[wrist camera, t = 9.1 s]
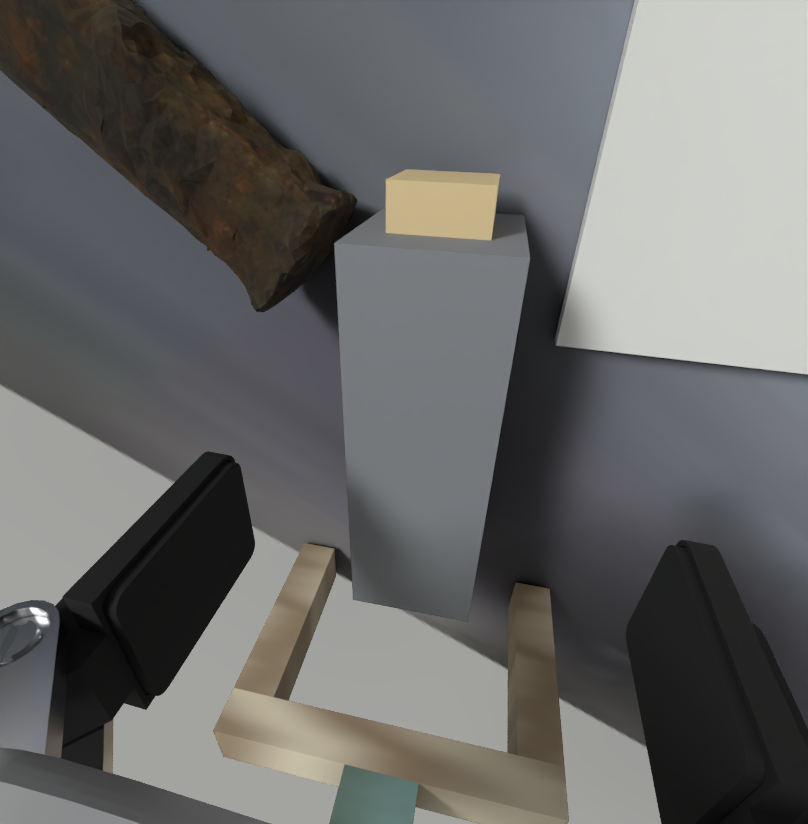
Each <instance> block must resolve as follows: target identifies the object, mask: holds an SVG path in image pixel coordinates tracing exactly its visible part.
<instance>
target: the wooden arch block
mask: <svg viewBox="0 0 808 824" xmlns="http://www.w3.org/2000/svg"><path fill="white" fill-rule="evenodd" d="M335 577H336V568H335V551H334V548H328V547H323V546H318V545H312V544H307V543H304V545H303V547H302V549H301V551H300V553H299V555H298V557H297V559H296V561H295V563H294V565H293V568H292V570H291V572H290V574H289V576H288V578H287V580H286V582H285V584H284V586H283V588H282V590H281V592H280V594H279V596H278V598H277V600H276V602H275V604H274V607H273V609H272V611H271V613H270V615H269V617H268V619H267V621H266V623H265V625H264V627H263V629H262V631H261V633H260V635H259V637H258V639H257V642H256V644H255V646H254V648H253V650H252V652H251V654H250V656H249V658H248V660H247V662H246V664H245V666H244V668H243V670H242V672H241V674H240V677H239V679H238V681H237V683H236V685H235V687H234V689H233V691H232V693H231V695H230V697H229V699H228V701H227V703H226V705H225V707H224V710H223V711H222V714H221V716H220V718H219V720H218V722H217V724H216V726H215V728H214V730H213V732H214V734H215V737H216V739H217V742H218V744H219V747H220V749H221V752H222V754H223V757H226V758H231V759H234V760H238V761H242V762H245V763H249V764H253V765H257V766H261V767H265V768H268V769H273V770H276V771H280V772H284V773H288V774H292V775H295V776H299V777H303V778H307V779H310V780H314V781H318V782H322V783H326V784H330V785H334V786H337V787H339V788H338V792H337V796H336V800H335V804H334V807H333V812H332V815H331V819H330V823H329V824H413V820H414V813H415V807H418V808H422V809H425V810H429V811H433V812H437V813H440V814H445V815H448V816H452V817H456V818H460V819H463V820H467V821H471V822H475V823H479V824H567V823H568V822H569V816H568V804H567V793H566V779H565V768H564V756H563V744H562V732H561V719H560V707H559V695H558V683H557V671H556V659H555V647H554V635H553V623H552V611H551V599H550V589H548V588H543V587H537V586H532V585H527V584H521V583H516V582H515V586H514V590H513V594H512V597H511V601H510V605H509V608H508V753H506V752H502V751H497V750H493V749H489V748H485V747H481V746H476V745H472V744H468V743H463V742H460V741H455V740H451V739H446V738H442V737H438V736H434V735H430V734H426V733H422V732H417V731H413V730H409V729H405V728H401V727H397V726H392V725H388V724H384V723H380V722H375V721H371V720H367V719H363V718H359V717H355V716H350V715H346V714H342V713H338V712H334V711H329V710H325V709H320V708H317V707H313V706H308V705H304V704H300V703H296V702H291V701H288V700H289V697H290V695H291V692H292V690H293V687H294V684H295V682H296V679H297V676H298V674H299V671H300V668H301V666H302V663H303V661H304V658H305V655H306V653H307V650H308V648H309V645H310V642H311V640H312V637H313V635H314V632H315V629H316V626H317V624H318V621H319V619H320V616H321V614H322V611H323V608H324V606H325V603H326V601H327V598H328V595H329V593H330V590H331V587H332V585H333V582H334V579H335Z"/></svg>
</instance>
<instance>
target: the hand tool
mask: <svg viewBox="0 0 808 824" xmlns="http://www.w3.org/2000/svg"><path fill="white" fill-rule="evenodd" d="M0 70H1V71H2V72H3V73H4V74H5V75H6V76H7V77H8V78H9V79H10V80H11V81H13V82H14V83H15V84H16V85H17V86H18V87H19V88H21V89H22V90H23V91H24V92H25V93H27V94H28V95H29V96H30V97H31V98H32V99H34V100H35V101H36V102H37V103H38V104H39V105H41V106H42V107H43V108H44V109H45V110H46V111H48V112H49V113H50V114H51V115H52V116H53V117H54V118H56V119H57V120H58V121H59V122H60V123H61V124H62V125H63V126H64V127H65V128H67V129H68V130H69V131H70V132H72V133H73V134H74V135H76V136H77V137H79V138H80V139H81V140H82V141H83V142H85V143H86V144H87V145H88V146H89V147H90V148H91V149H92V150H93V151H95V152H96V153H97V154H98V155H99V156H100V157H101V158H103V159H104V160H105V161H106V162H107V163H108V164H110V165H111V166H112V167H113V168H114V169H115V170H117V171H118V172H119V173H120V174H121V175H122V176H124V177H125V178H126V179H127V180H128V181H129V182H131V183H132V184H133V185H134V186H135V187H136V188H137V189H138V190H140V191H141V192H142V193H143V194H144V195H145V196H146V197H148V198H149V199H150V200H152V201H153V202H154V203H155V204H157V205H158V206H159V207H160V208H162V209H163V210H164V211H165V212H167V213H168V214H169V215H170V216H172V217H173V218H174V219H175V220H176V221H178V222H179V223H180V224H181V225H183V226H184V227H185V228H186V229H187V230H188V231H189V232H190V233H191V234H192V235H193V236H194V237H195V238H196V239H198V240H199V241H200V242H202V243H203V244H204V245H206V246H207V250H211V251H212V252H213V254H214V255H215V256H217V257H218V258H220V259H221V260H222V261H224V262H225V263H226V264H227V265H228V266H229V267H230V268H231V269H232V270H233V271H234V273H235V274H236V275H237V276H238V277H239V279H240V281H241V282H242V283H243V284H244V285H245V287H246V289H247V292H248V295H249V297H250V299H251V305H252V306H253V308H254V309H255V310H256V311H257V312H259V311H260V312H264V311H267V310H269V309H270V308H272V307H273V306H275V305H276V304H278V303H279V302H281V301H282V300H283V299H285V298H286V297H287V296H288V295H290V294H291V293H292V292H294V291H295V290H296V289H297V288H299V287H300V286H301V285H302V284H303V283H304V282H305V281H306V280H307V279H308V278H309V277H310V276H311V275H312V274H313V273H314V272H315V271H316V270H317V269H318V267H319V266H320V265H321V264H322V263H323V261H324V260H325V259H326V258H327V256H328V255H329V254H330V253H331V251H332V250H333V248H334V243H335V242H337V241H338V240H339V239H341V237H342V236H343V235H344V234H345V232H346V231H347V230H348V222H349V220H350V218H351V215H352V213H353V211H354V207H355V205H356V203H357V199H356V198H355V197H354V195H352V194H349V193H346V192H344V191H339V190H335V189H332V188H329V187H326V186H324V185H323V184H322V183H321V181H320V178H319V176H318V174H317V172H316V170H315V168H314V166H313V165H312V164H310V163H309V162H308V160H307V159H306V157H305V156H304V155H303V154H302V153H301V152H300V151H297V150H291V149H286V148H284V147H283V146H282V145H280V144H279V143H278V142H277V141H276V140H275V139H274V137H273V136H272V135H271V134H270V133H269V132H268V131H267V130H266V129H265V128H264V127H263V126H262V125H261V124H260V123H259V122H258V121H257V120H256V119H255V118H254V117H253V116H252V115H251V114H249V113H248V112H247V111H246V109H245V108H244V107H243V105H242V104H241V103H240V102H239V100H238V99H237V98H236V97H235V96H234V95H233V94H232V92H230V91H229V90H228V89H226V88H225V87H224V86H223V85H221V84H220V83H219V82H218V81H217V80H216V79H215V78H214V77H213V75H212V74H211V73H210V72H209V71H208V70H207V69H206V68H205V67H204V66H202V65H201V64H200V63H199V62H198V61H197V60H195V59H194V58H193V57H192V56H191V55H189V54H188V53H187V52H185V51H183V52H181V51H180V50H179V49H178V48H177V47H176V46H175V45H174V44H173V43H172V42H171V41H170V40H168V39H167V38H166V37H165V36H164V35H163V34H162V33H161V32H160V31H159V30H158V29H157V28H156V27H155V26H154V25H153V24H152V22H151V21H150V20H149V19H148V18H147V16H146V14H145V12H144V10H143V9H142V8H141V7H139V6H137V5H135V4H134V3H132V2H131V1H130V0H0Z"/></svg>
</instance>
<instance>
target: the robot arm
mask: <svg viewBox="0 0 808 824" xmlns="http://www.w3.org/2000/svg"><path fill="white" fill-rule="evenodd" d="M254 547H255V540H254V535H253V529H252V524H251V519H250V514H249V509H248V503H247V498H246V493H245V488H244V483H243V477H242V472H241V467H240V465H239V464H238V463H235V460H234V458H233V457H232V456H229V455H224V454H219V453H213V452H205V453H204V454H203V455H201V456H200V457H199V458H198V459H197V460H196V461H195V462H194V463H193V464H192V465H191V466H190V467H189V469H188V470H187V471H186V472H185V473H184V474H183V475H182V476H181V477H180V478H179V479H178V480H177V481H176V482H175V483H174V484H173V485H172V486H171V487H170V488H169V489H168V490H167V491H166V492H165V493H164V494H163V495H162V496H161V497H160V498H159V499H158V500H157V501H156V502H155V503H154V504H153V505H152V506H151V507H150V508H149V509H148V510H147V511H146V512H145V513H144V514H143V515H142V516H141V517H140V519H138V520H137V521H136V523H134V524H133V525H132V527H130V528H129V530H128V531H127V532H126V533H125V534H124V535H123V536H122V537H121V538H120V539H119V540H118V541H117V542H116V543H115V544H114V545H113V546H112V547H111V548H110V549H109V550H108V551H107V552H106V553H105V554H104V555H103V556H102V557H101V558H100V559H99V560H98V561H97V562H96V563H95V564H94V565H93V566H92V567H91V568H90V569H89V570H88V571H87V572H86V573H85V574H84V575H83V576H82V577H81V578H80V579H79V580H78V581H77V582H76V583H75V584H74V585H73V586H72V587H71V588H70V589H69V591H68V592H67V593H66V594H65V595H64V596H63V598H62V599H61V600H60V602H59V603H58V604H57V605H56V606H54V605H53V604H51V603H49V602H46V601H38V600H34V601H33V600H31V601H26V602H21V603H17V604H15V605H12V606H10V607H7V608H5V609H2V610H0V824H270V823H266V822H263V821H260V820H257V819H254V818H251V817H248V816H244V815H241V814H238V813H235V812H232V811H229V810H226V809H223V808H220V807H217V806H213V805H210V804H207V803H204V802H201V801H198V800H195V799H192V798H189V797H185V796H182V795H179V794H176V793H173V792H170V791H167V790H164V789H160V788H157V787H154V786H151V785H148V784H145V783H142V782H139V781H135V780H132V779H129V778H125V777H122V776H119V775H115V774H113V718H114V716H115V715H116V713H117V712H118V711H119V709H120V708H121V706H122V705H123V703H126V704H129V705H132V706H135V707H139V708H142V709H145V710H146V709H147V708H148V706H149V705H150V703H151V702H152V700H153V699H154V697H155V696H159V695H161V694H163V693H164V692H165V690H166V689H167V688H168V687H169V685H170V683H171V682H172V680H173V679H174V677H175V676H176V674H177V673H178V671H179V669H180V668H181V666H182V665H183V663H184V661H185V660H186V658H187V657H188V655H189V654H190V652H191V651H192V649H193V647H194V646H195V644H196V643H197V641H198V640H199V638H200V636H201V635H202V633H203V632H204V630H205V629H206V627H207V626H208V624H209V622H210V621H211V619H212V618H213V616H214V615H215V613H216V611H217V610H218V608H219V607H220V605H221V604H222V602H223V600H224V599H225V597H226V596H227V594H228V593H229V591H230V589H231V588H232V586H233V585H234V583H235V582H236V580H237V579H238V577H239V575H240V574H241V572H242V571H243V569H244V567H245V566H246V564H247V563H248V561H249V560H250V558H251V556H252V554H253V551H254ZM626 639H627V646H628V651H629V656H630V661H631V667H632V672H633V677H634V682H635V688H636V693H637V698H638V703H639V708H640V714H641V719H642V724H643V729H644V735H645V740H646V745H647V750H648V756H649V761H650V766H651V771H652V776H653V782H654V787H655V792H656V797H657V802H658V808H659V813H660V818H661V823H662V824H808V729H807V726H806V724H805V722H804V720H803V718H802V716H801V713H800V711H799V709H798V707H797V705H796V703H795V701H794V698H793V696H792V694H791V692H790V690H789V688H788V685H787V683H786V681H785V679H784V677H783V675H782V672H781V670H780V668H779V666H778V664H777V662H776V659H775V657H774V655H773V653H772V651H771V649H770V646H769V644H768V642H767V640H766V638H765V637H764V635H763V633H762V632H761V630H760V629H759V628H758V627H757V626H756V625H755V624H752V623H751V621H750V619H749V617H748V614H747V612H746V610H745V608H744V605H743V603H742V601H741V599H740V596H739V594H738V592H737V590H736V587H735V585H734V583H733V581H732V579H731V576H730V574H729V572H728V570H727V567H726V565H725V563H724V561H723V558H722V556H721V554H720V552H719V550H718V549H717V548H716V547H715V546H713V545H707V544H702V543H697V542H691V541H686V540H681V541H679V542H678V543H677V545H676V546H673V545H669V546H668V547H667V549H666V550H665V552H664V554H663V556H662V558H661V560H660V562H659V564H658V566H657V568H656V570H655V572H654V574H653V576H652V578H651V580H650V582H649V584H648V585H647V587H646V589H645V591H644V593H643V595H642V597H641V599H640V601H639V603H638V605H637V607H636V609H635V611H634V613H633V615H632V617H631V619H630V621H629V623H628V625H627V632H626Z"/></svg>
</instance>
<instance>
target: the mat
mask: <svg viewBox="0 0 808 824" xmlns="http://www.w3.org/2000/svg"><path fill="white" fill-rule="evenodd" d="M555 343H556V346H564V347H573V348H582V349H591V350H599V351H608V352H617V353H625V354H634V355H643V356H652V357H660V358H669V359H678V360H687V361H695V362H704V363H713V364H721V365H730V366H739V367H748V368H756V369H765V370H774V371H783V372H791V373H800V374H808V0H635V1H634V5H633V9H632V14H631V18H630V22H629V26H628V31H627V35H626V39H625V43H624V48H623V52H622V56H621V60H620V64H619V69H618V73H617V77H616V81H615V86H614V90H613V94H612V98H611V103H610V107H609V111H608V115H607V120H606V124H605V128H604V132H603V136H602V141H601V145H600V149H599V153H598V158H597V162H596V166H595V170H594V175H593V179H592V183H591V187H590V192H589V196H588V200H587V204H586V208H585V213H584V217H583V221H582V225H581V230H580V234H579V238H578V242H577V247H576V251H575V255H574V259H573V264H572V268H571V272H570V276H569V280H568V285H567V289H566V293H565V297H564V302H563V306H562V310H561V314H560V319H559V323H558V327H557V331H556V335H555Z"/></svg>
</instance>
